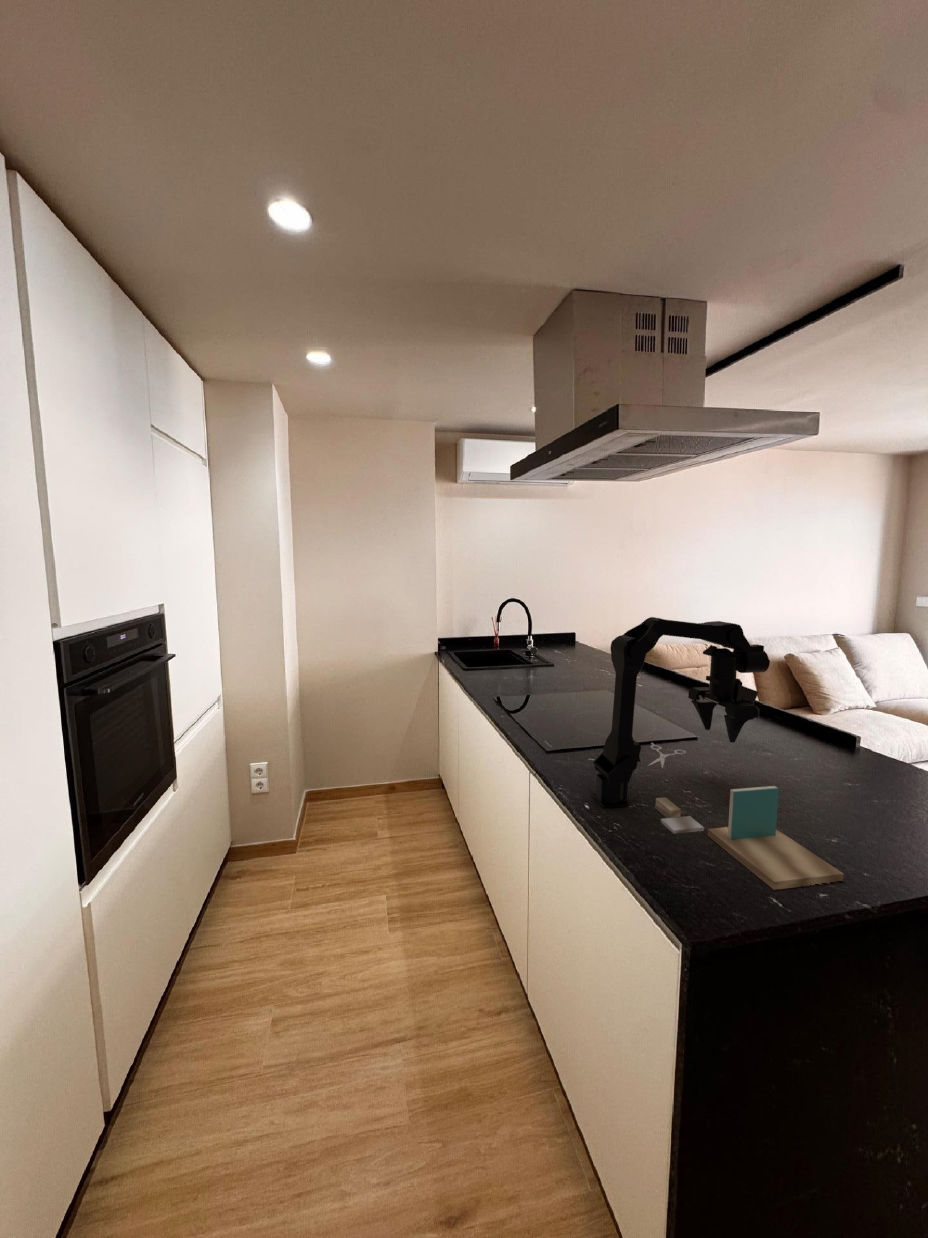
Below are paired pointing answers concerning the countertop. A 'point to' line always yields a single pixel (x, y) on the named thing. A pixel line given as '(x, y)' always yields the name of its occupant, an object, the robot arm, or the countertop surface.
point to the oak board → (777, 860)
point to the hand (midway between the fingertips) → (719, 735)
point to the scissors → (662, 756)
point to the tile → (753, 812)
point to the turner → (676, 818)
